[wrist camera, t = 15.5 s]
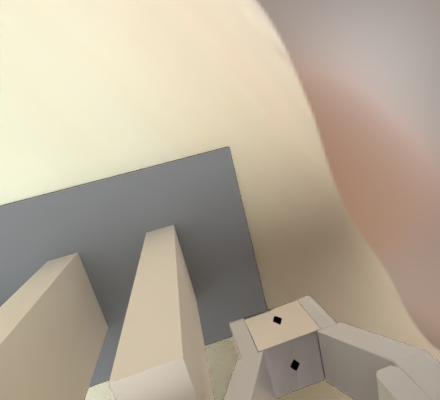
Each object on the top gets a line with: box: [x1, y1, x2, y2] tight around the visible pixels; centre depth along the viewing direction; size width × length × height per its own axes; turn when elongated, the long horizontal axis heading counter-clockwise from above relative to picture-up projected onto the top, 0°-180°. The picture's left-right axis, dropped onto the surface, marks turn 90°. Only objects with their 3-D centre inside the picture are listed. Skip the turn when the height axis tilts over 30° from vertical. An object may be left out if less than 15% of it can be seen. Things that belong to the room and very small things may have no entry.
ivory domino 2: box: [109, 225, 214, 400], centre depth 11 cm, size 2×5×10 cm, turn 14°
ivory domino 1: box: [0, 252, 108, 400], centre depth 10 cm, size 2×5×10 cm, turn 14°
